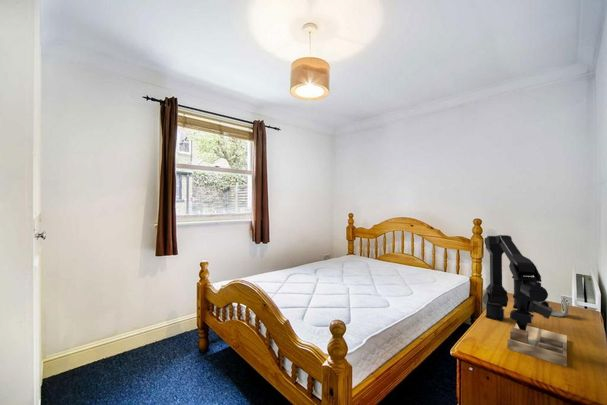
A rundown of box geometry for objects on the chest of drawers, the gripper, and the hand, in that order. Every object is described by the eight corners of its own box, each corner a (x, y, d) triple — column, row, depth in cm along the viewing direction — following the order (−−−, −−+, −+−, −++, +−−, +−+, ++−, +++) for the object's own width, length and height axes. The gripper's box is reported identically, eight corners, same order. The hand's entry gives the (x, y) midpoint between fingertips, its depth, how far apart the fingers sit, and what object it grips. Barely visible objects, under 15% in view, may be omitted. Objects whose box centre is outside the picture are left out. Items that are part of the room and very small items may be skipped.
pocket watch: (542, 312, 136) (542, 292, 136) (557, 311, 137) (557, 292, 137) (558, 319, 128) (558, 298, 128) (574, 318, 129) (574, 297, 129)
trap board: (507, 348, 101) (507, 339, 101) (516, 327, 119) (516, 319, 119) (566, 366, 90) (566, 356, 90) (566, 340, 108) (566, 331, 108)
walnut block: (510, 341, 102) (510, 331, 103) (512, 337, 106) (512, 327, 106) (527, 346, 99) (527, 335, 99) (528, 341, 103) (528, 331, 103)
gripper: (549, 304, 93) (549, 349, 93) (551, 292, 106) (552, 331, 106) (509, 296, 101) (509, 338, 100) (516, 286, 114) (516, 323, 114)
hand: (523, 332), depth 105 cm, fingers closed
